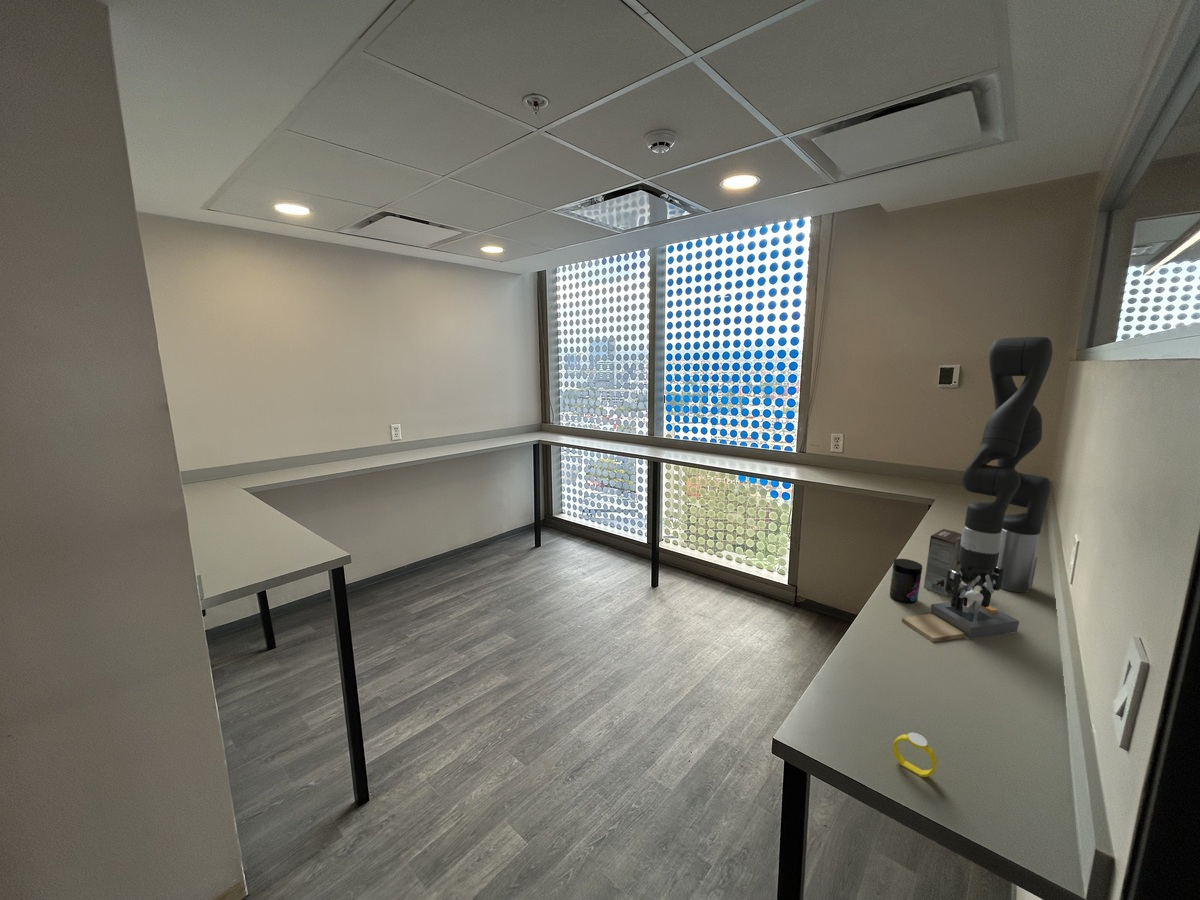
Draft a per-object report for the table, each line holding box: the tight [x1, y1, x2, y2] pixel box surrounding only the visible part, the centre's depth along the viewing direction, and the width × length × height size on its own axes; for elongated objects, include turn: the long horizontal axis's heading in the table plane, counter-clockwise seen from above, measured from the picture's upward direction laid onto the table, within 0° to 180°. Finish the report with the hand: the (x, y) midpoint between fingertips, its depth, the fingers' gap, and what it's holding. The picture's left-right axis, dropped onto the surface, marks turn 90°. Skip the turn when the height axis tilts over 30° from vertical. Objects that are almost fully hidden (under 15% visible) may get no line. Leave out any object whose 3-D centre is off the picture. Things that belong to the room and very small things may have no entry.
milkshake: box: [959, 586, 983, 622], centre depth 119 cm, size 4×5×10 cm
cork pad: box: [901, 613, 965, 643], centre depth 118 cm, size 9×9×1 cm
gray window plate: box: [929, 601, 1020, 640], centre depth 120 cm, size 14×11×4 cm
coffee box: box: [923, 528, 962, 597], centre depth 137 cm, size 9×6×16 cm
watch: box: [892, 731, 938, 778], centre depth 78 cm, size 6×3×6 cm, turn 40°
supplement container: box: [889, 558, 923, 605], centre depth 132 cm, size 7×7×10 cm
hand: (969, 607), depth 119 cm, fingers open, 7 cm apart
